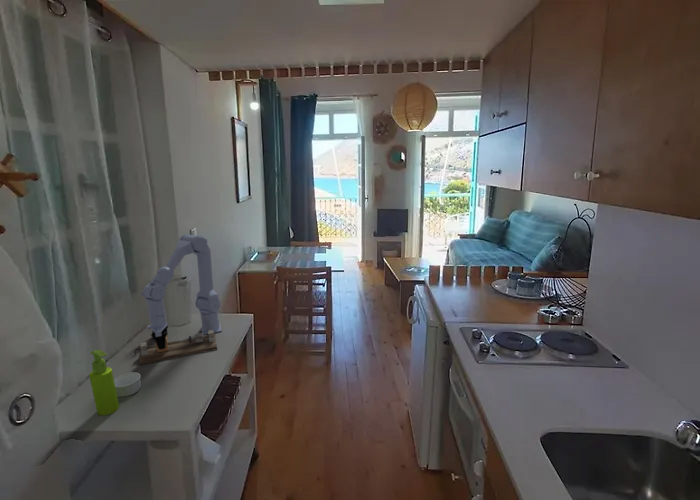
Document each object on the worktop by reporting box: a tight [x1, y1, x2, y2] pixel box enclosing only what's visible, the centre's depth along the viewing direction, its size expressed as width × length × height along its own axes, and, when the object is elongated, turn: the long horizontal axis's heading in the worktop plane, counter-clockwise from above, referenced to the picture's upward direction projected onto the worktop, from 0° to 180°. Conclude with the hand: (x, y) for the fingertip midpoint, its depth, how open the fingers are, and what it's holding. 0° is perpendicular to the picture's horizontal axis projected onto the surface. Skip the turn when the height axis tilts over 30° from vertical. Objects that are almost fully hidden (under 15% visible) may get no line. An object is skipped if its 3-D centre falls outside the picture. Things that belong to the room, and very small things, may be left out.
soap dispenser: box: [89, 349, 120, 417], centre depth 124 cm, size 6×7×20 cm
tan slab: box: [138, 330, 218, 366], centre depth 163 cm, size 13×28×5 cm, turn 112°
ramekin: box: [114, 371, 142, 398], centre depth 136 cm, size 9×9×4 cm
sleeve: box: [154, 335, 169, 352], centre depth 161 cm, size 4×4×5 cm
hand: (162, 346), depth 161 cm, fingers closed on sleeve, 4 cm apart
